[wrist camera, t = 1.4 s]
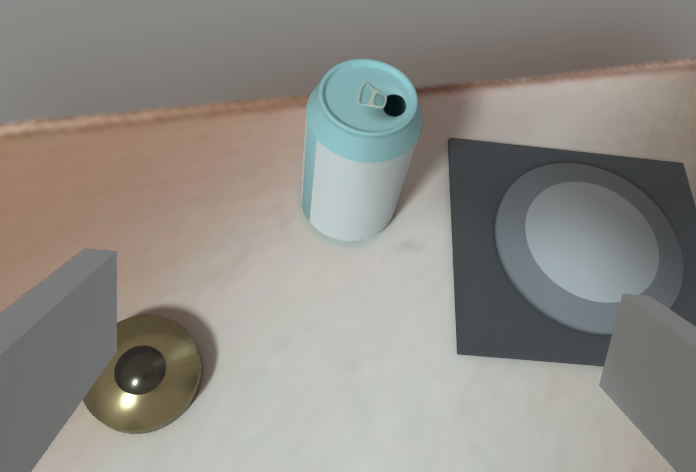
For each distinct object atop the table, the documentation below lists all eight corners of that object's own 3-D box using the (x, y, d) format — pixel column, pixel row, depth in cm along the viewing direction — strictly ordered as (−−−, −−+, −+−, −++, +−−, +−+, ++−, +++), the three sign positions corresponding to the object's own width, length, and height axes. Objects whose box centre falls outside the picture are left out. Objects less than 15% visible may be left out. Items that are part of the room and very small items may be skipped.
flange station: (679, 166, 48) (692, 153, 47) (738, 377, 40) (757, 370, 38) (447, 141, 47) (453, 127, 46) (457, 354, 38) (464, 345, 37)
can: (370, 156, 46) (397, 39, 35) (408, 228, 43) (450, 124, 32) (287, 180, 44) (289, 64, 33) (321, 257, 41) (335, 157, 30)
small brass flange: (210, 326, 38) (208, 319, 36) (191, 438, 34) (188, 433, 33) (101, 317, 37) (96, 310, 36) (71, 429, 34) (63, 425, 33)
